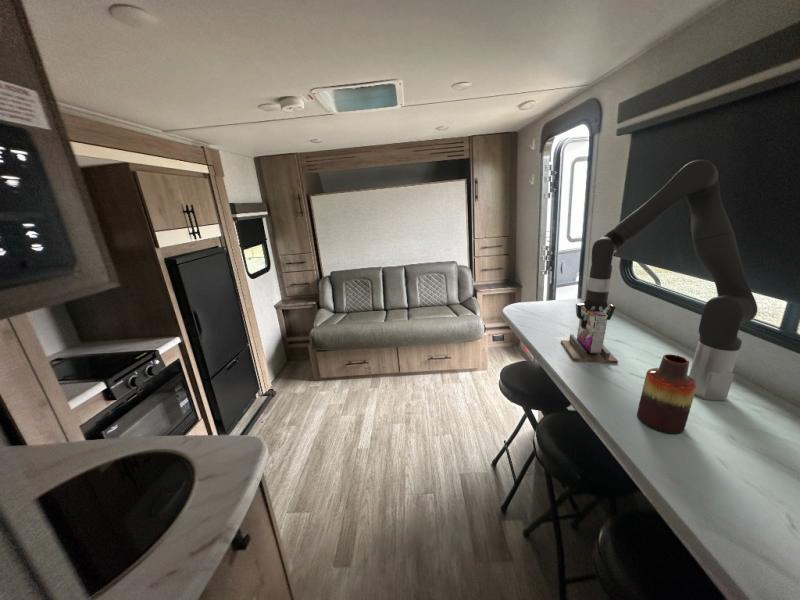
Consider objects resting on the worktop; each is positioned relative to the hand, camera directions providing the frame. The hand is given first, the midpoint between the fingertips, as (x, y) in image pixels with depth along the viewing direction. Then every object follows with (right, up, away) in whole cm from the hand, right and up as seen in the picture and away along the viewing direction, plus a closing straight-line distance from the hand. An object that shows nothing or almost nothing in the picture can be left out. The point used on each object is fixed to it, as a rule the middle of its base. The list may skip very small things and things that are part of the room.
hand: (591, 328), depth 130 cm
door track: (0, -10, +3) cm, 11 cm away
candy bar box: (0, -8, +3) cm, 9 cm away
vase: (-3, -24, -38) cm, 45 cm away
